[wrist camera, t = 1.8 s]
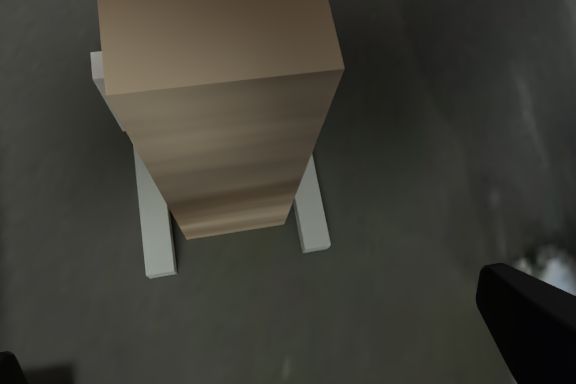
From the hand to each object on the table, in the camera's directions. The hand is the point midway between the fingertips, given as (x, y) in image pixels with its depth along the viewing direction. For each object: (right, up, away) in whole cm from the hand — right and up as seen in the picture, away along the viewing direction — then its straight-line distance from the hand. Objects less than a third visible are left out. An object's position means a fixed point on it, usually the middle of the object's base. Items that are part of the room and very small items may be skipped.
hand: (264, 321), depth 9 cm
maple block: (-2, +3, +14) cm, 14 cm away
